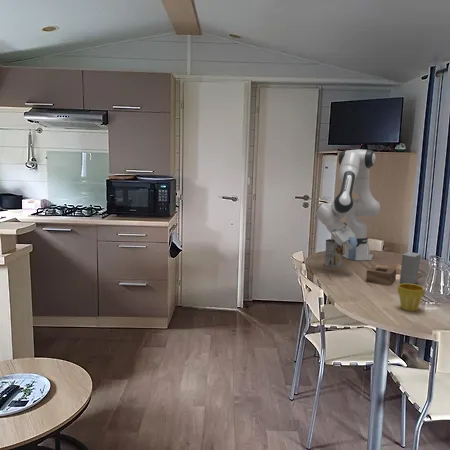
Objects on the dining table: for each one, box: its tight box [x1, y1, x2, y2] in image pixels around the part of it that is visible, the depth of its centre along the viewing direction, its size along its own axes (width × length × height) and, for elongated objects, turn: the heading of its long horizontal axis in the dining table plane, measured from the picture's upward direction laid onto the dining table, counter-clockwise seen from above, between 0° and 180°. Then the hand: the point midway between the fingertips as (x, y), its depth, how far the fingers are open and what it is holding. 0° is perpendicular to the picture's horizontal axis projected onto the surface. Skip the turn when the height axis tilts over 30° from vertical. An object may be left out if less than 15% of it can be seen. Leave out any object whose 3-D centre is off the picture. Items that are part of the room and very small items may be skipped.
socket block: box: [365, 266, 397, 287], centre depth 229 cm, size 12×12×6 cm
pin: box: [348, 237, 357, 261], centre depth 239 cm, size 4×4×12 cm
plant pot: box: [397, 283, 425, 312], centre depth 187 cm, size 10×10×10 cm
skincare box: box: [399, 251, 422, 284], centre depth 225 cm, size 8×7×16 cm
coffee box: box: [324, 238, 344, 268], centre depth 262 cm, size 9×6×16 cm
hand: (353, 247), depth 239 cm, fingers closed on pin, 4 cm apart
